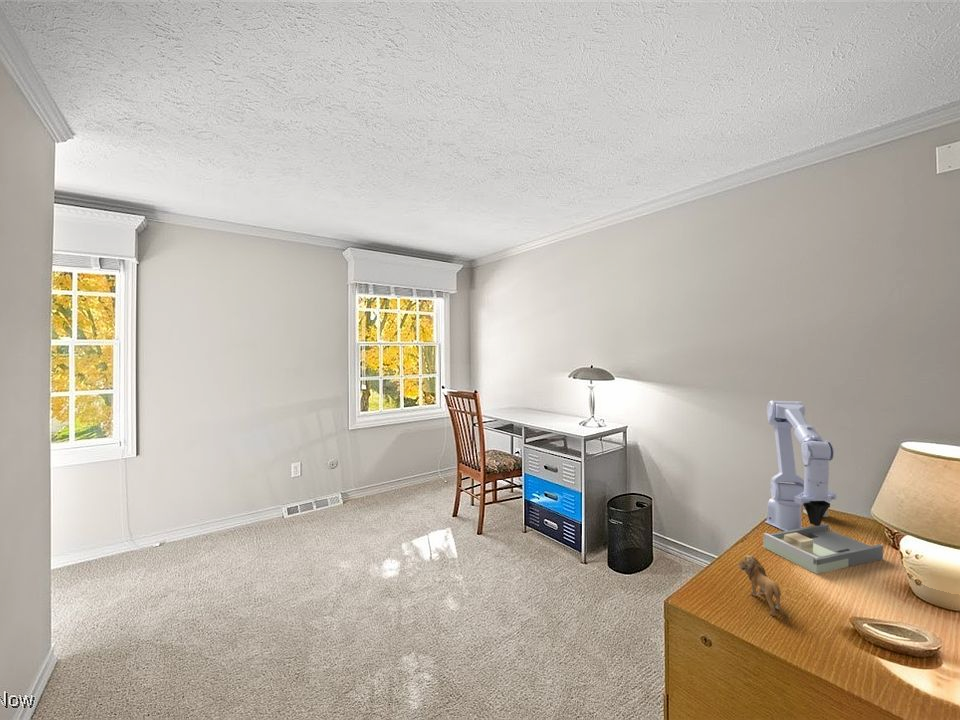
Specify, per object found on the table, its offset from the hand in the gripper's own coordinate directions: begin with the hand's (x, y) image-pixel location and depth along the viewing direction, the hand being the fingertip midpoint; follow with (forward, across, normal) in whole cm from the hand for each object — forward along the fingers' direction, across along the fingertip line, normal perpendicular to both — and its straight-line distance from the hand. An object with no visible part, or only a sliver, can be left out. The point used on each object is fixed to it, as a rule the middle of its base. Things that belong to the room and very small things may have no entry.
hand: (814, 524), depth 128 cm
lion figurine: (+10, -36, -13) cm, 39 cm away
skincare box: (+10, +30, +21) cm, 38 cm away
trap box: (+9, +3, 0) cm, 10 cm away
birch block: (+7, -7, 0) cm, 10 cm away
